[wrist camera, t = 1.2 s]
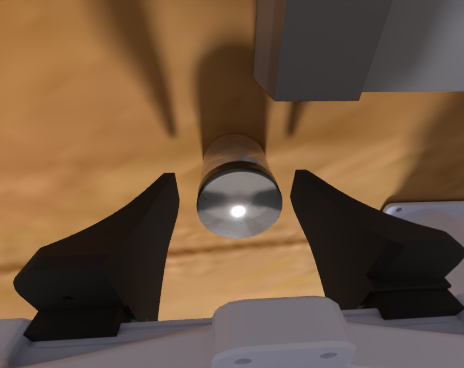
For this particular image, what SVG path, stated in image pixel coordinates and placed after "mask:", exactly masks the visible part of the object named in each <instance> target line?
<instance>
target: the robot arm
mask: <svg viewBox="0 0 464 368" xmlns="http://www.w3.org/2000/svg"><path fill="white" fill-rule="evenodd" d="M290 198H291V202H292V206H293V209H294V212H295V214H296V216H297V218H298V220H299V223H300V225H301V227H302V229H303V231H304V233H305V236H306V238H307V240H308V242H309V245H310V247H311V250H312V253H313V256H314V259H315V262H316V266H317V269H318V272H319V275H320V279H321V283H322V286H323V290H324V294H325V297H320V296H301V297H283V298H265V299H247V300H239V301H234V302H228V303H227V304H225V305H223V306H221V307H219V308H218V309H217V310H216V311H215V313H214V315H213V317H212V318H203V319H186V320H169V321H158V313H159V304H160V296H161V289H162V282H163V275H164V268H165V262H166V257H167V251H168V247H169V243H170V240H171V236H172V233H173V229H174V226H175V222H176V219H177V215H178V209H179V201H180V199H179V194H178V189H177V183H176V178H175V173H164V174H162V175H161V176H160V177H159V178H158V179H157V180H156V181H155V182H154V183H153V184H152V185H150V186H149V187H148V188H147V189H146V190H145V191H144V192H142V193H141V194H140V195H139V196H138V197H136V198H135V199H134V200H133V201H131V202H130V203H129V204H127V205H126V206H124V207H123V208H121V209H120V210H118V211H117V212H115V213H114V214H112V215H110V216H109V217H107V218H105V219H103V220H102V221H100V222H98V223H96V224H94V225H92V226H90V227H88V228H86V229H84V230H82V231H80V232H78V233H76V234H74V235H71V236H69V237H67V238H64V239H62V240H59V241H57V242H54V243H52V244H49V245H47V246H44V247H41V248H40V249H39V250H38V251H37V252H36V253H35V255H34V256H33V257H32V258H31V259H30V260H29V262H28V263H27V264H26V265H25V266H24V267H23V269H22V270H21V271H20V272H19V273H18V274H17V276H16V277H15V278H14V281H13V284H14V287H15V290H16V291H17V293H18V294H19V295H20V296H21V297H23V298H24V299H25V300H26V301H27V302H28V303H30V304H31V305H32V306H33V307H34V308H35V309H36V310H38V313H37V314H36V316H35V317H34V319H33V320H29V319H23V318H17V319H0V368H464V201H443V202H410V203H390V204H388V205H387V206H386V207H385V208H384V210H383V212H382V211H380V210H377V209H375V208H372V207H370V206H368V205H366V204H364V203H361V202H359V201H357V200H355V199H353V198H351V197H350V196H348V195H346V194H344V193H343V192H341V191H339V190H337V189H336V188H334V187H333V186H331V185H329V184H328V183H326V182H325V181H323V180H322V179H320V178H319V177H317V176H316V175H314V174H313V173H311V172H309V171H308V170H296V171H295V176H294V180H293V185H292V190H291V194H290Z"/></svg>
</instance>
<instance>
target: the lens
mask: <svg viewBox="0 0 464 368" xmlns="http://www.w3.org/2000/svg"><path fill="white" fill-rule="evenodd" d="M281 210H282V195H281V192H280V190H279V187H278V185H277V182H276V180H275V178H274V176H273V175H272V172H271V170H270V167H269V165H268V162H267V160H266V157H265V154H264V152H263V150H262V148H261V146H260V145H259V144H258V142H256V141H255V140H254V139H252V138H251V137H249V136H246V135H243V134H228V135H224V136H221V137H219V138H218V139H216V140H215V141H213V142H212V143H211V144H210V145H209V147H208V148H207V150H206V152H205V155H204V160H203V168H202V175H201V183H200V186H199V191H198V198H197V212H198V216H199V218H200V220H201V222H202V224H203V225H204V226H205V227H206V228H207V229H208V230H210V231H211V232H213V233H215V234H217V235H220V236H223V237H227V238H247V237H251V236H255V235H258V234H260V233H262V232H264V231H265V230H267V229H268V228H270V227H271V226H272V225H273V224H274V223H275V222H276V221H277V219H278V218H279V216H280V214H281Z"/></svg>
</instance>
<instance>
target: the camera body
mask: <svg viewBox="0 0 464 368" xmlns="http://www.w3.org/2000/svg"><path fill="white" fill-rule="evenodd" d="M253 78H254V79H255V80H256V81H257V83H258V84H259V85H260V86H261V87H262V88H263V89H264V90H265V91H266V93H267V94H268V95H269V96H270V97H271V98H272V99H273V100H274V101H359V99H360V96H361V93H362V92H432V91H464V0H258V2H257V19H256V37H255V54H254V72H253Z"/></svg>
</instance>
